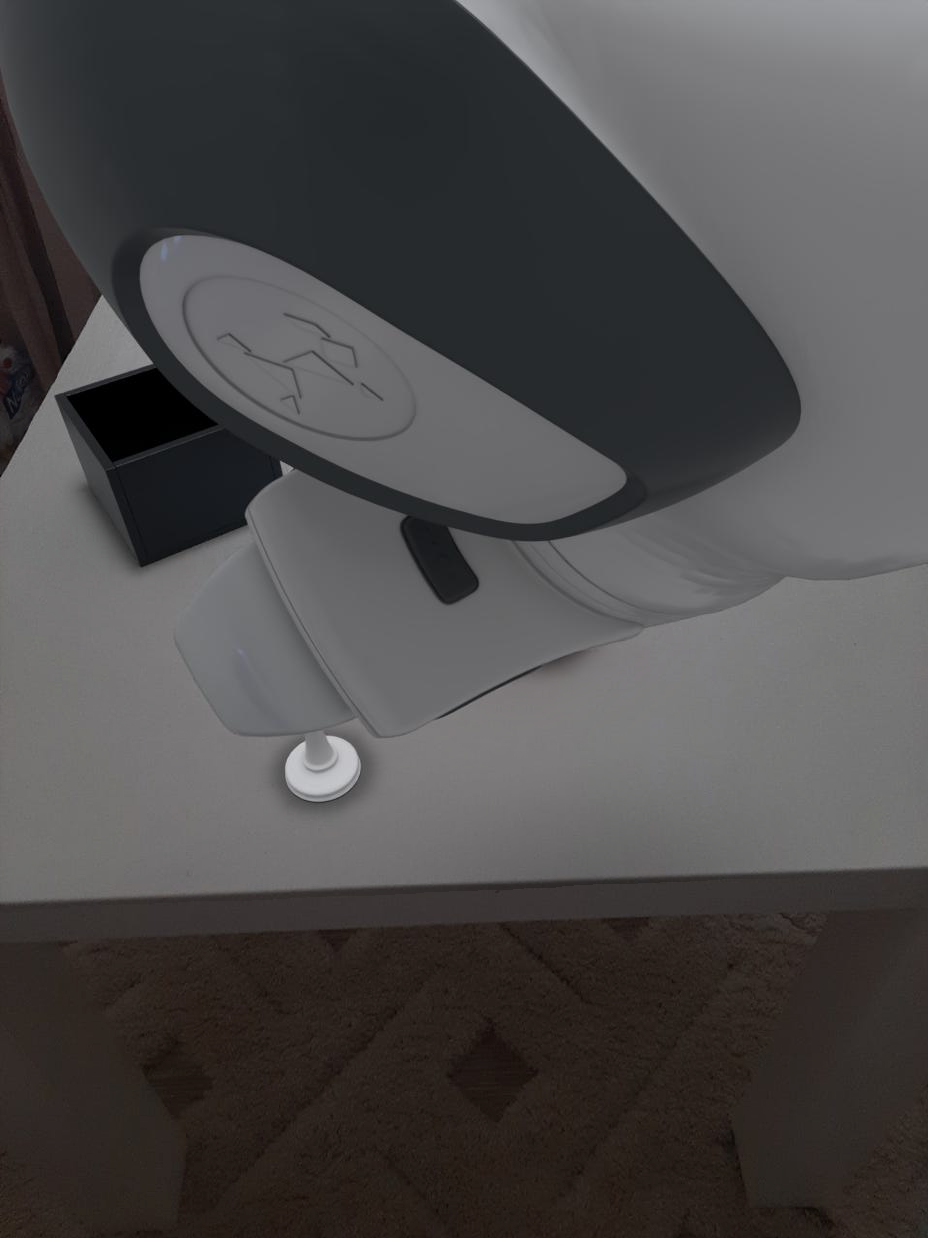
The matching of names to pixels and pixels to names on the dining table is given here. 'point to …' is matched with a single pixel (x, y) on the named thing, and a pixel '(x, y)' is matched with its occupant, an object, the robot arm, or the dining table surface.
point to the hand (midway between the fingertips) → (403, 568)
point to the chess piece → (322, 767)
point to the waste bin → (161, 463)
